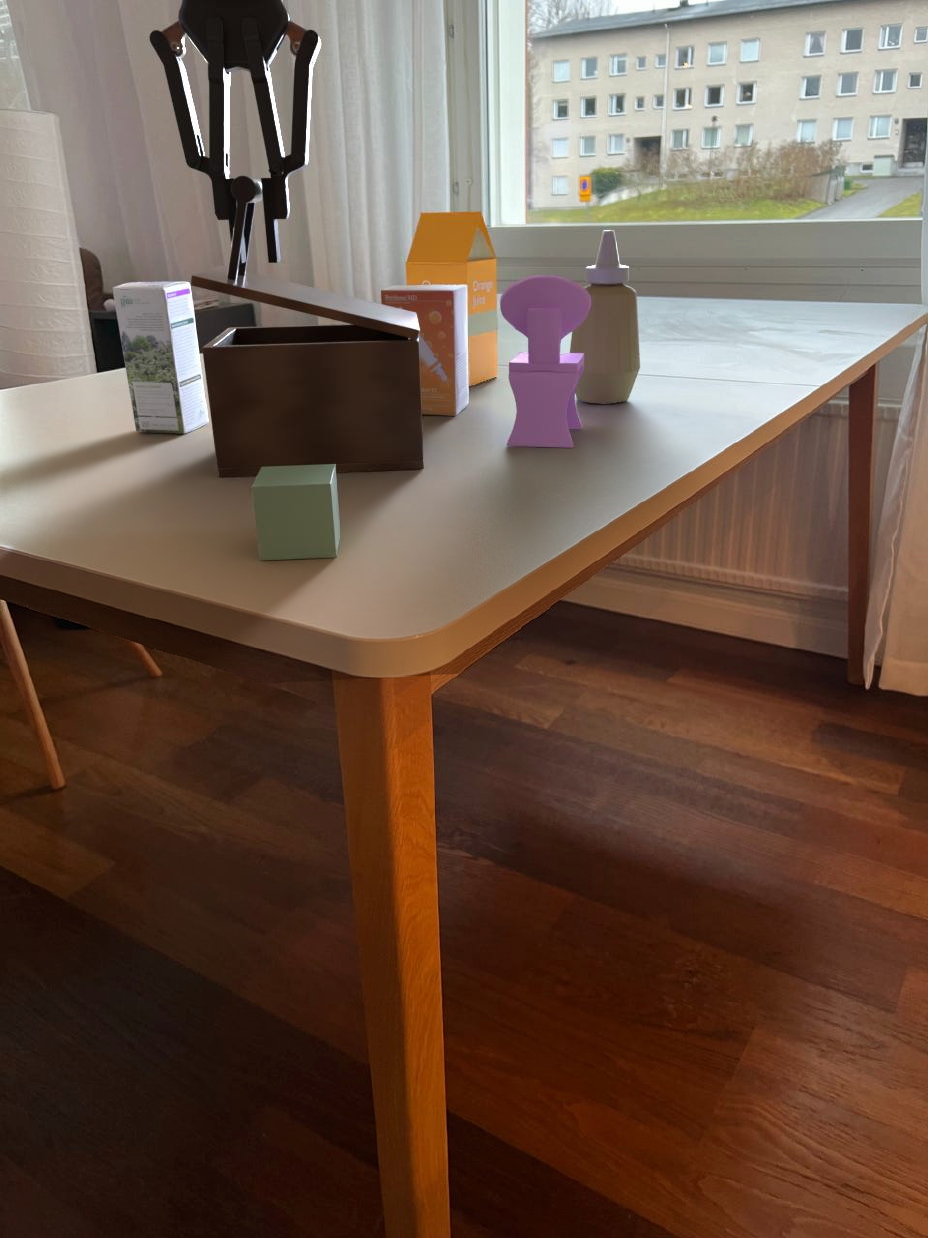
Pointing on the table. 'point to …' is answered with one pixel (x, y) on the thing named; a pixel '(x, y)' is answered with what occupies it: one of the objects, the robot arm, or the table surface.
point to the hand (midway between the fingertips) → (257, 261)
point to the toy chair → (545, 358)
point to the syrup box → (161, 356)
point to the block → (296, 512)
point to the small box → (438, 342)
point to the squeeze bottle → (608, 330)
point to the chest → (314, 398)
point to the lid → (289, 293)
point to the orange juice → (461, 278)
